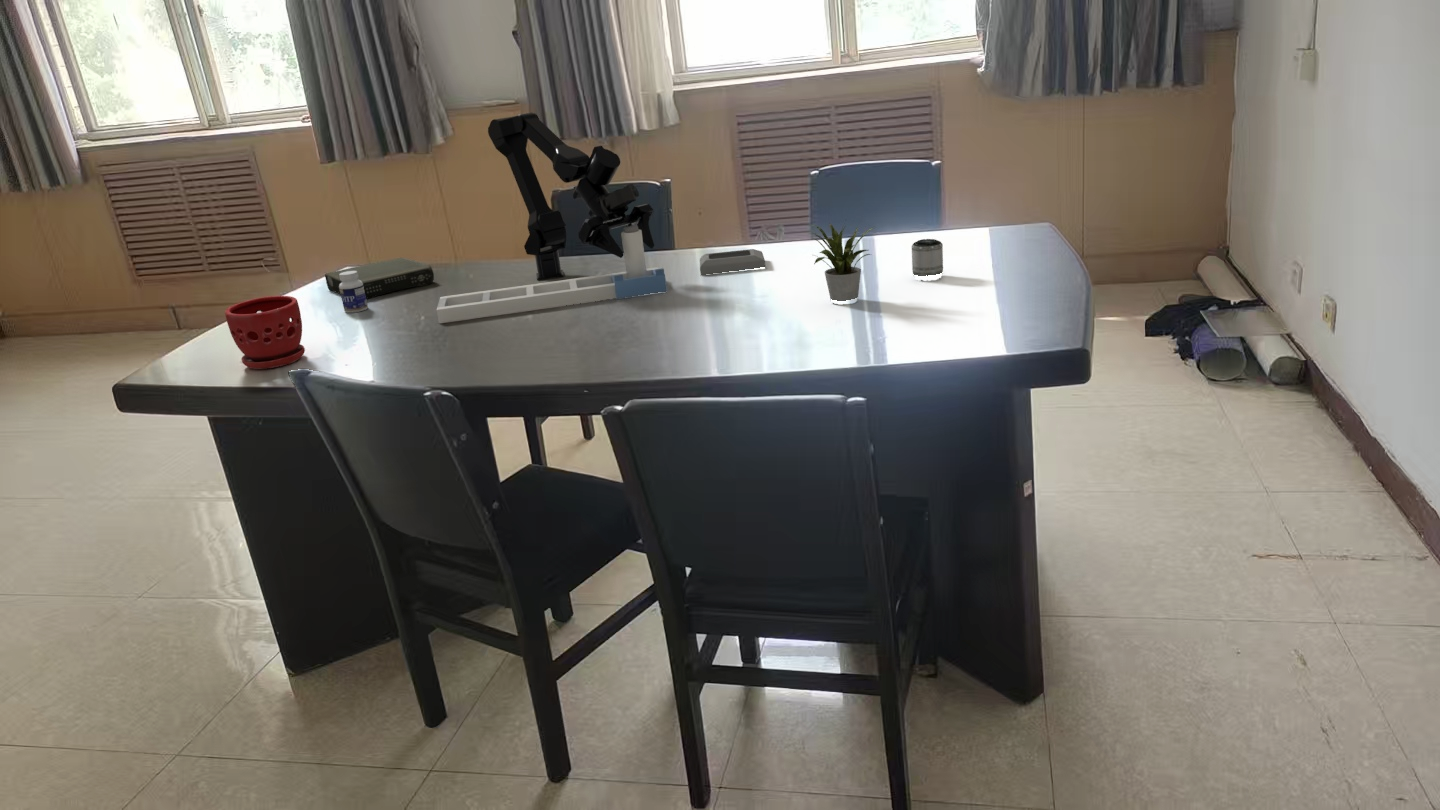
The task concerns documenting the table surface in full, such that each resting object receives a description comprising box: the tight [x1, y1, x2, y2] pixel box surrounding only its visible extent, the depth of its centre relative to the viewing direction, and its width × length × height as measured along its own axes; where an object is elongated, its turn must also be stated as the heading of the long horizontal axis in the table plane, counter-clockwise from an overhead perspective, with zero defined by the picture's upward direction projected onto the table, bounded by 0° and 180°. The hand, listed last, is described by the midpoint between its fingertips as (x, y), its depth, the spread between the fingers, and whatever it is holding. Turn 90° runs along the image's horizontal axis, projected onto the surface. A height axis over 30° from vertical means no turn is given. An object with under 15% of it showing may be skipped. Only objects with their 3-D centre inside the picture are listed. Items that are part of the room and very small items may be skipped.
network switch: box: [324, 257, 435, 300], centre depth 255 cm, size 23×24×5 cm
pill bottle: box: [339, 271, 369, 314], centre depth 232 cm, size 5×5×9 cm
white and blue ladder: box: [436, 266, 668, 324], centre depth 222 cm, size 13×49×5 cm, turn 101°
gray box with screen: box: [699, 248, 766, 276], centre depth 236 cm, size 10×4×15 cm
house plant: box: [808, 219, 876, 301], centre depth 197 cm, size 14×14×16 cm
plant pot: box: [224, 295, 306, 370], centre depth 196 cm, size 13×13×12 cm
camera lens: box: [911, 238, 944, 276], centre depth 209 cm, size 6×6×8 cm
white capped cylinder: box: [620, 225, 647, 279], centre depth 224 cm, size 4×4×14 cm
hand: (637, 251), depth 222 cm, fingers open, 9 cm apart
